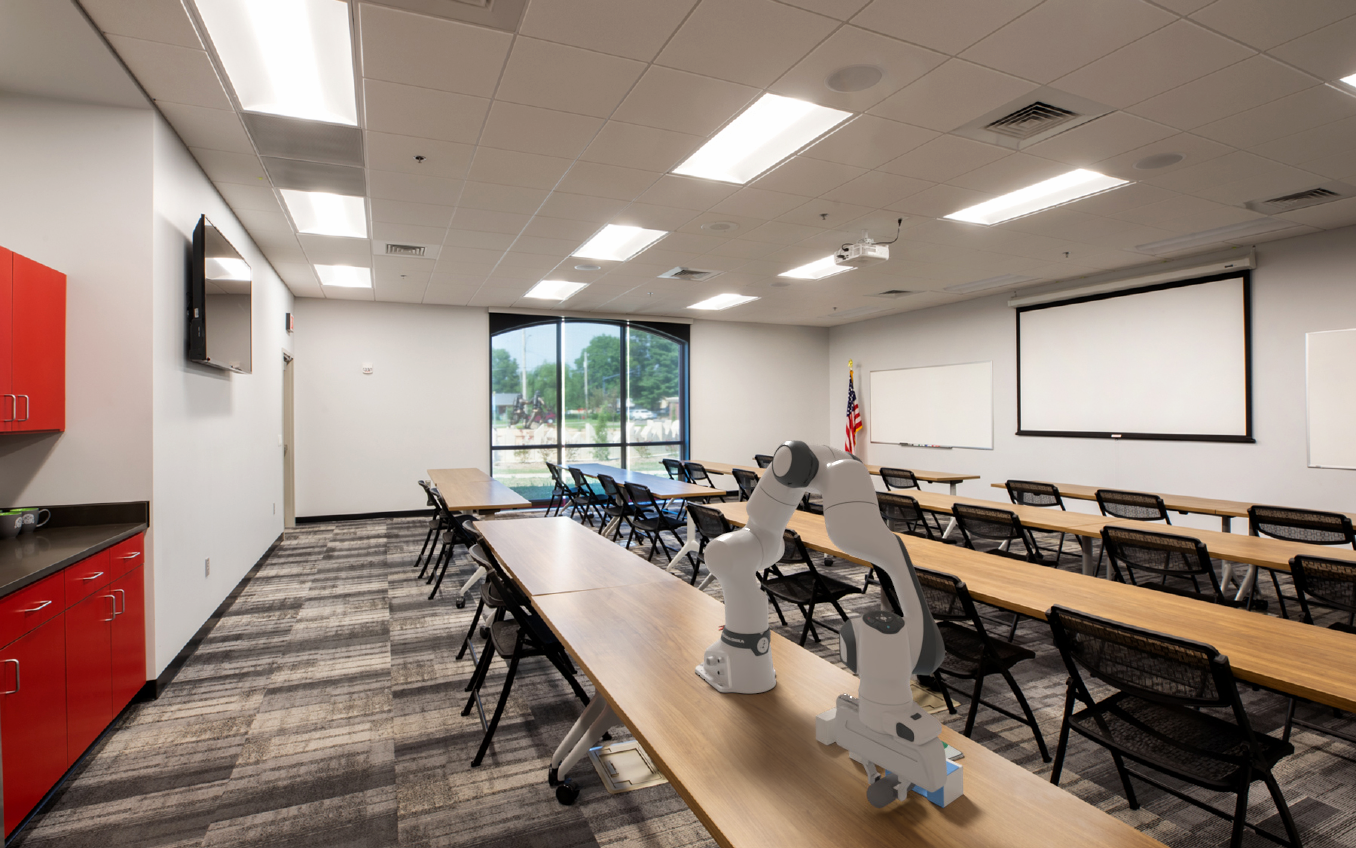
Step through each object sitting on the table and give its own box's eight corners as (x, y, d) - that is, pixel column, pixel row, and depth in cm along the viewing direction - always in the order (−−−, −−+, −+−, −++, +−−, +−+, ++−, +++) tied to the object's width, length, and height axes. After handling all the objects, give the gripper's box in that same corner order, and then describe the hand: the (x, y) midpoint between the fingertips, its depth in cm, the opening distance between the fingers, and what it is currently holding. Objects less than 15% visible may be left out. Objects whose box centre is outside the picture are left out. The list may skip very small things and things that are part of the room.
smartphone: (939, 763, 118) (882, 728, 131) (939, 768, 118) (882, 732, 131) (965, 753, 121) (907, 720, 135) (965, 758, 121) (907, 724, 135)
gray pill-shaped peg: (862, 805, 104) (862, 784, 104) (902, 780, 111) (902, 760, 111) (880, 815, 101) (880, 794, 101) (920, 789, 108) (920, 769, 108)
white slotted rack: (815, 740, 128) (814, 715, 128) (835, 730, 132) (834, 706, 132) (943, 808, 105) (942, 777, 105) (963, 793, 109) (962, 764, 109)
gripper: (825, 694, 111) (826, 770, 111) (929, 740, 95) (931, 829, 95) (847, 685, 115) (849, 759, 115) (951, 727, 99) (953, 813, 99)
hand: (887, 791), depth 105 cm, fingers closed on gray pill-shaped peg, 4 cm apart
